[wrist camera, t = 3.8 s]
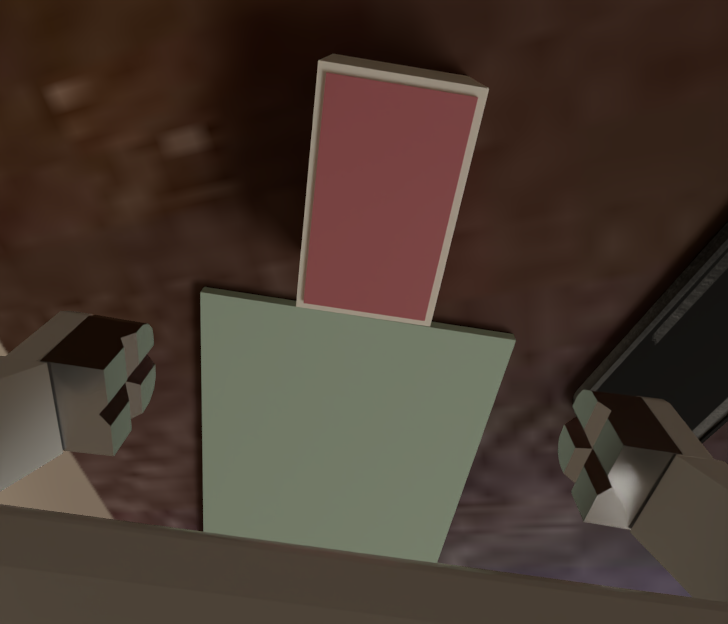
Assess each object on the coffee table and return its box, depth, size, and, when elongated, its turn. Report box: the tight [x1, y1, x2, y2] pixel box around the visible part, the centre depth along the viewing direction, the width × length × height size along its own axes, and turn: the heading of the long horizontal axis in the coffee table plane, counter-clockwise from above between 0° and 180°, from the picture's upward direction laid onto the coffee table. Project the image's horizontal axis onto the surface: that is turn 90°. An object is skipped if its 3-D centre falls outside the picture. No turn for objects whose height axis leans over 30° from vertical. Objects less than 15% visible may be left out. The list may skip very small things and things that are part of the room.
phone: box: [573, 222, 728, 443], centre depth 25 cm, size 8×1×15 cm
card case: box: [296, 54, 489, 327], centre depth 20 cm, size 9×6×5 cm, turn 172°
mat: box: [200, 287, 516, 563], centre depth 30 cm, size 20×16×1 cm
